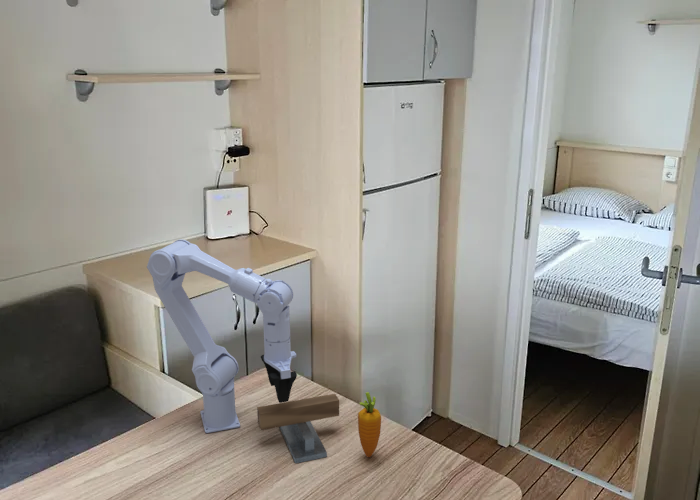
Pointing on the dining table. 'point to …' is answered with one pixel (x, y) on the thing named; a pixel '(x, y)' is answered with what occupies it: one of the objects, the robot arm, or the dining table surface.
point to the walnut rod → (297, 411)
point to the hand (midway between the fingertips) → (279, 392)
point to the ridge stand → (303, 442)
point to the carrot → (369, 425)
